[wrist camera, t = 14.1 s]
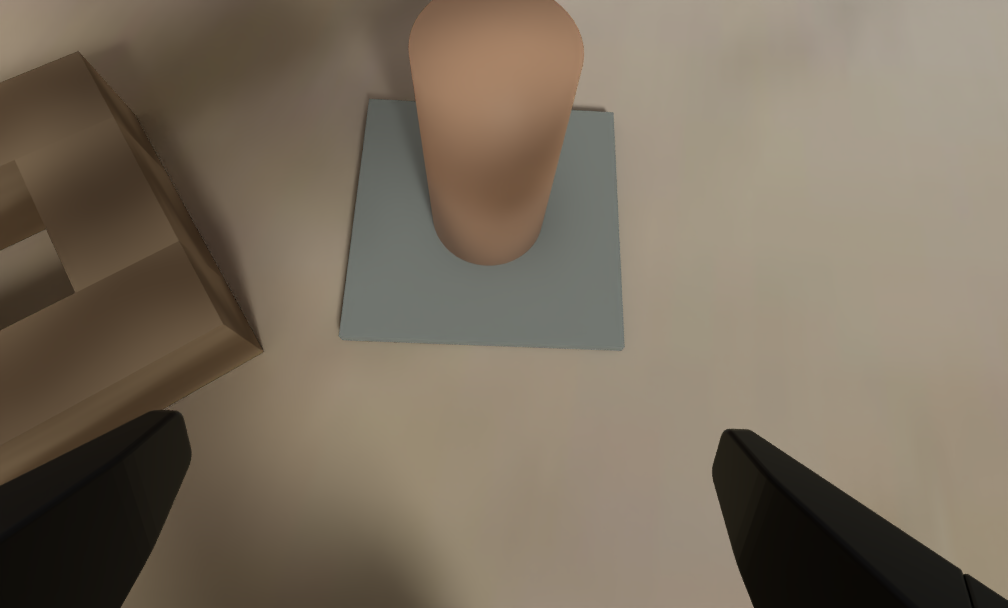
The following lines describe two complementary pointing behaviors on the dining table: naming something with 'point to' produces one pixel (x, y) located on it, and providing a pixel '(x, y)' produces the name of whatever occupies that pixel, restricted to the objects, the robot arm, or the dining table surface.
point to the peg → (492, 117)
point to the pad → (478, 288)
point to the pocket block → (101, 272)
